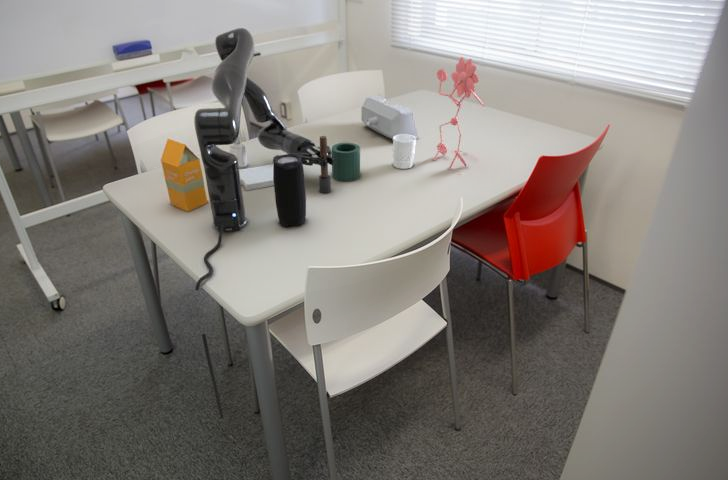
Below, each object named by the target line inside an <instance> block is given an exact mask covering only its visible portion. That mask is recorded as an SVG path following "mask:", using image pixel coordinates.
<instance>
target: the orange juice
mask: <svg viewBox="0 0 728 480" xmlns="http://www.w3.org/2000/svg"><path fill="white" fill-rule="evenodd" d="M160 162H161V167H162V171H163V172H162V173H163V176H164V179H165V185H166V189H167V194H168V197H169V198H168V199H169V201H170V204H171V205H172V206H175V207H177V208H179V209H181V210H182V211H183V210H184V211H185V212H190V211H193V210H195V209H197V208H200V207H202V206H203V205H206V204H207V203H208V199H207V193H206V187H205V181H204V180H205V179H204V176H203V170H202V165H201V159H200V158H199V157H198V156H197V154H195V153H194V152H193V151H192V150H191V149H190V148H189V147H188V146H187V145H186V144H184V143H182V142H179V141H176V140H173V139H170V138H167V139H166V142H165V145H164V149H163V152H162V155H161V158H160Z"/></svg>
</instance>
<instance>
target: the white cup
mask: <svg viewBox="0 0 728 480" xmlns="http://www.w3.org/2000/svg"><path fill="white" fill-rule="evenodd" d="M416 143H417V139H416V137H415V136H413V135H409V134H399V135H396V136H394V137H393V140H392V157H393V165H392V166H394V167H395V168H397V169H400V170H407V169H410V168H413V166H414V158H415V151H416Z"/></svg>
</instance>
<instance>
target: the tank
mask: <svg viewBox="0 0 728 480" xmlns="http://www.w3.org/2000/svg"><path fill="white" fill-rule="evenodd" d="M386 100H387V99H386V98H385V97H383V96H380V95H378V94H376V95H369V96H367V97H366V98H365V100H364V102H363V104H362V106H361V109H360V110H361V113H360V114H361V115H360V116H361V117H360V119H361V122H362V123H363V124H364V125H365V126H366V127H367V128H369V129H370V130H373V131H375V132H377V133H378V134H380V135H382V136H384V137H385V138H388V139H390V140H392V141H393V137H394V136H396V135H399V134H409V135H413V136H415V137H416V140H417V139H418V138H419V135H418V130H417V127H416V123H415V120H414V115H413V112H412V110H411V109H410V108H408V107H405V106H404V105H401V104H397V103H396V104H389V103H385V101H386ZM391 138H392V139H391Z"/></svg>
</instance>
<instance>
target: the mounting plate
mask: <svg viewBox="0 0 728 480" xmlns="http://www.w3.org/2000/svg"><path fill="white" fill-rule="evenodd" d="M273 165H274V163H271V164H266V165H260V166H253V167H248V168H243V169H241V168H240V169H239V173H240V180H241V186H243V187H244V188H245V190H246V191H251V190H256V189H262V188H267V187H274V181H273Z"/></svg>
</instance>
